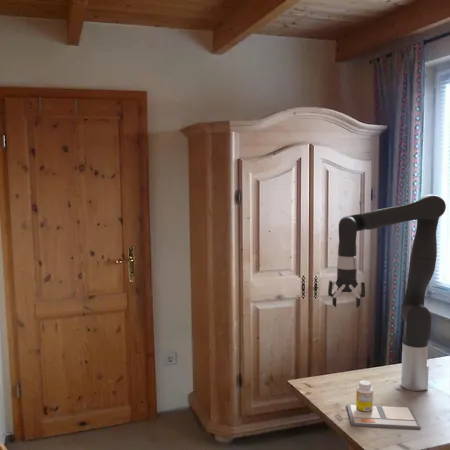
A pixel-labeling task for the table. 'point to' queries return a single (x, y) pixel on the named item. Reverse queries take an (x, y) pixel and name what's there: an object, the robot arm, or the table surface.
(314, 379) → the table surface
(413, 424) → the board
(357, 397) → the supplement bottle
